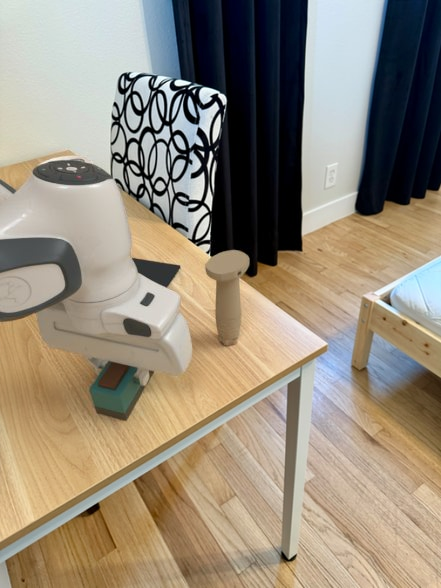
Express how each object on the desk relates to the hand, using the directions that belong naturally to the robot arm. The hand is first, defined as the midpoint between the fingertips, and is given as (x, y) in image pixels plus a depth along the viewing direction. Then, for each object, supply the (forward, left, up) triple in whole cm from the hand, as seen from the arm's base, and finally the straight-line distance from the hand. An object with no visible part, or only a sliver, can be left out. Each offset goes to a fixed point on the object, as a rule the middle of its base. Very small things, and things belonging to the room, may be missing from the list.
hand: (123, 377), depth 59 cm
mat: (-16, +23, -3) cm, 28 cm away
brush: (0, 0, -3) cm, 3 cm away
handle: (+11, +14, -3) cm, 18 cm away
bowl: (-45, +56, -3) cm, 72 cm away
